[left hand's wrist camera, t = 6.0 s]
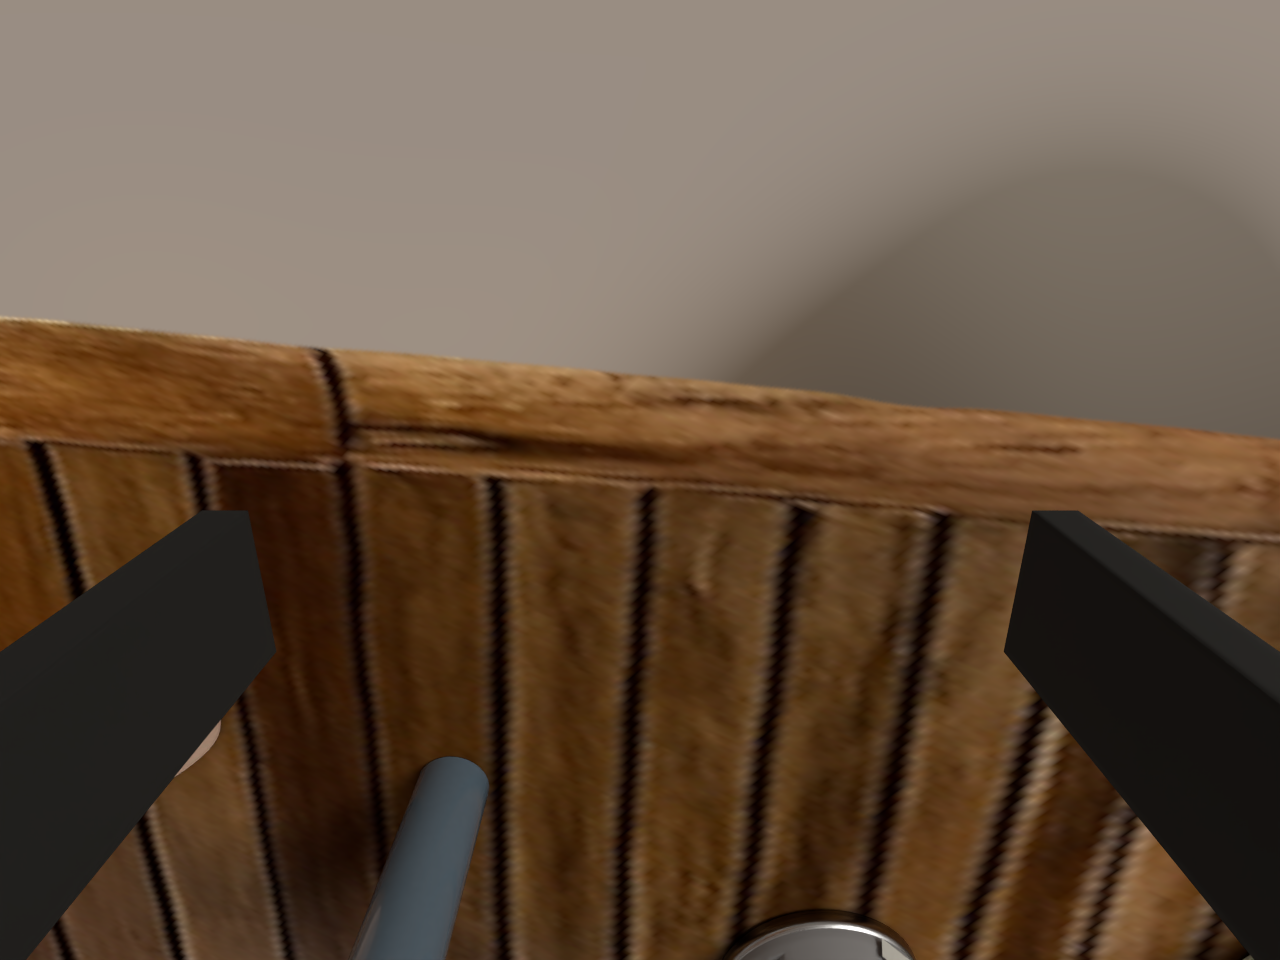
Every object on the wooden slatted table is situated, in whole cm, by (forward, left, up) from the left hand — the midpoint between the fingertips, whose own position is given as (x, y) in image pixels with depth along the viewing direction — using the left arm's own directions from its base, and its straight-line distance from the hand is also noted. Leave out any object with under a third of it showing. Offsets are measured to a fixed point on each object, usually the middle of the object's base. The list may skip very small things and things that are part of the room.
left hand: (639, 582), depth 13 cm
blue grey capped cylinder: (-30, +12, -28) cm, 43 cm away
